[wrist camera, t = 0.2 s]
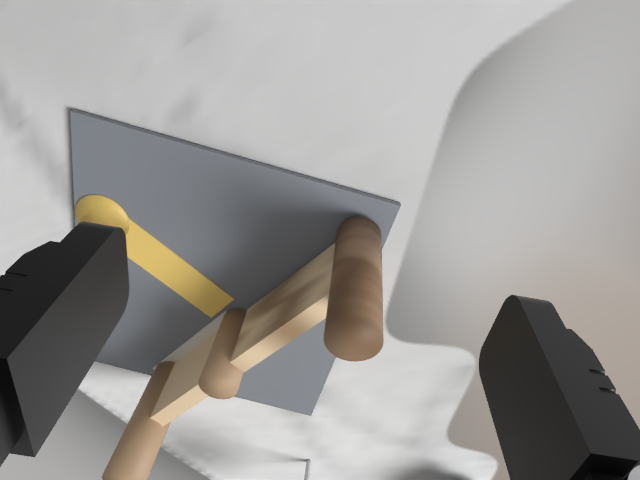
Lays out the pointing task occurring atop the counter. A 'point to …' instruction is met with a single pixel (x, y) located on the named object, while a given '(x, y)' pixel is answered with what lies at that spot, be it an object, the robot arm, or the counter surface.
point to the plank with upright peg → (323, 301)
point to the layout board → (204, 269)
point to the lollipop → (308, 470)
